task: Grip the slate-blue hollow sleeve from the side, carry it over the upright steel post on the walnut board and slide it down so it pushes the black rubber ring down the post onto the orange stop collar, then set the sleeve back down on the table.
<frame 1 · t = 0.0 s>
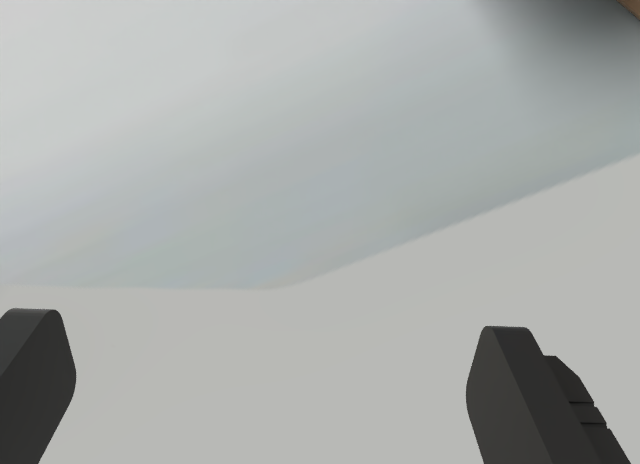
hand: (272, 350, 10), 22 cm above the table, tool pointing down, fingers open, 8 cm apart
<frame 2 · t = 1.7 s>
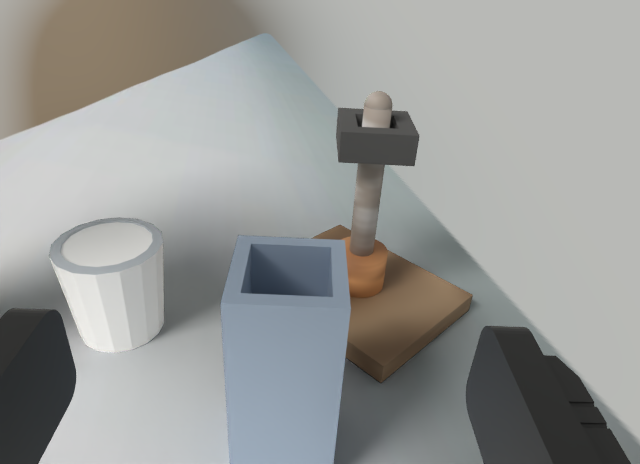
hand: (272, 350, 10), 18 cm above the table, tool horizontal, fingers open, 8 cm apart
sleeve: (283, 442, 28), on the table
ring: (374, 135, 33), point 13 cm above the table, slide at 8.0 cm
white cup: (123, 326, 36), on the table
post stand: (355, 297, 40), on the table
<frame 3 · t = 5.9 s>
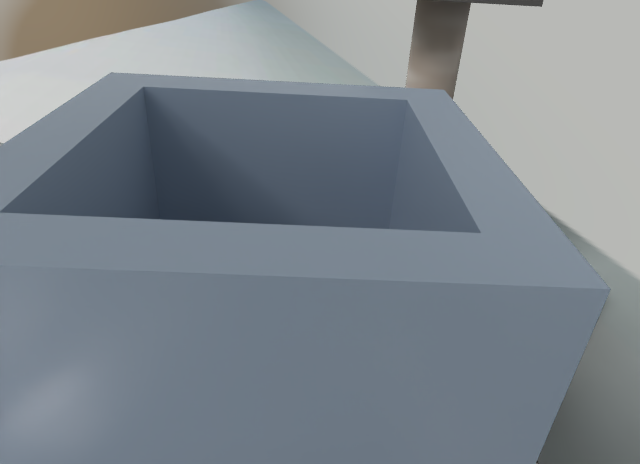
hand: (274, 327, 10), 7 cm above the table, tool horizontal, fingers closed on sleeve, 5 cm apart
post stand: (397, 289, 23), on the table
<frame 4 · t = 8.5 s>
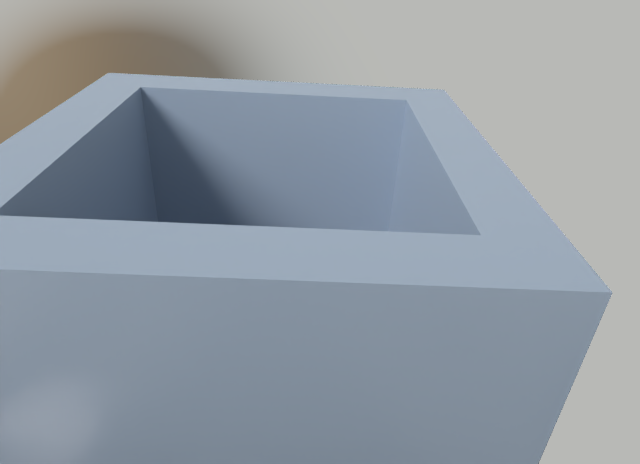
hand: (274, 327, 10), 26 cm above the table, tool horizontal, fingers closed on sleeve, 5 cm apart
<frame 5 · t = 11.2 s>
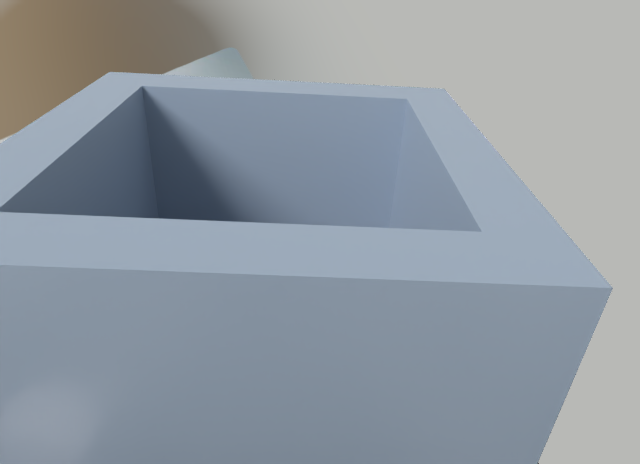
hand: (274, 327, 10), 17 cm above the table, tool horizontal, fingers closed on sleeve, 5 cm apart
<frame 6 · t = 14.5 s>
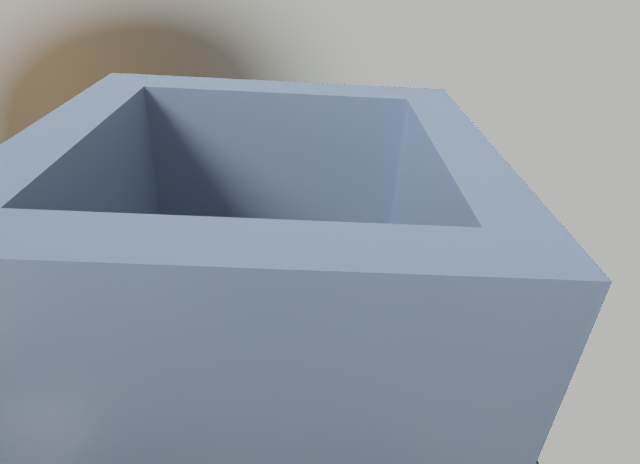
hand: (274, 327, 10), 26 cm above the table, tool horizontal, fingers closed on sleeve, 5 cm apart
when the fingers open (8 cm above the table, at t = 17.5 s): sleeve stays where it is, on the table.
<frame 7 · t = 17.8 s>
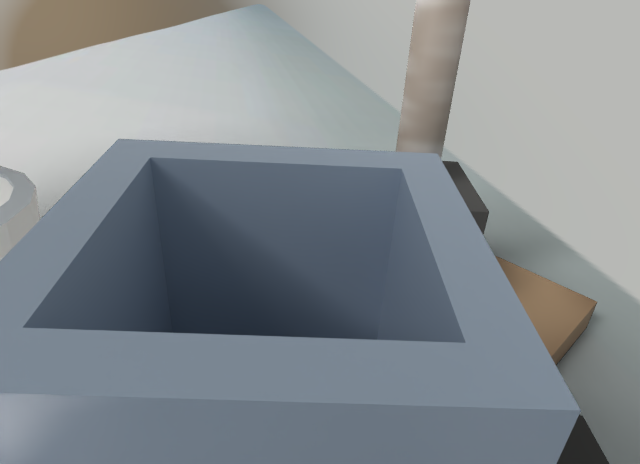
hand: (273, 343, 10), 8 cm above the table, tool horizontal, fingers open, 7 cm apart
ring: (410, 203, 21), point 5 cm above the table, slide at 0.0 cm, touching post stand
post stand: (393, 306, 24), on the table
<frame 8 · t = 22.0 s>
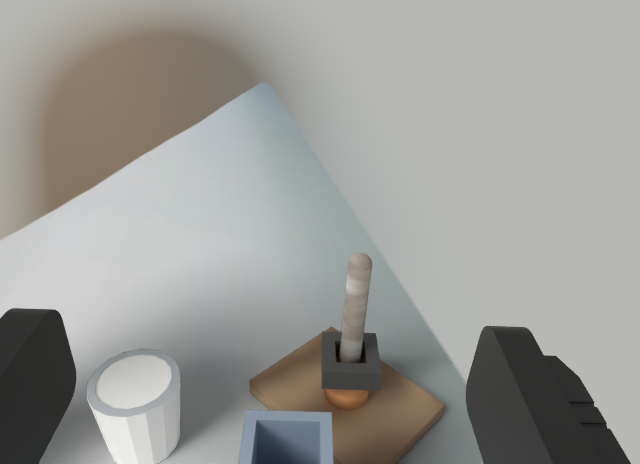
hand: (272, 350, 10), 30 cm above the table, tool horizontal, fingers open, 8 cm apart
ring: (349, 360, 43), point 5 cm above the table, slide at 0.0 cm, touching post stand
white cup: (145, 440, 42), on the table
post stand: (344, 403, 46), on the table
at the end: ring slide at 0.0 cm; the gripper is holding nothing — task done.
